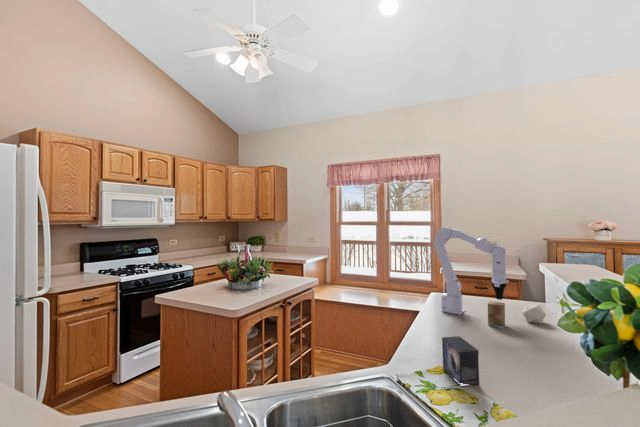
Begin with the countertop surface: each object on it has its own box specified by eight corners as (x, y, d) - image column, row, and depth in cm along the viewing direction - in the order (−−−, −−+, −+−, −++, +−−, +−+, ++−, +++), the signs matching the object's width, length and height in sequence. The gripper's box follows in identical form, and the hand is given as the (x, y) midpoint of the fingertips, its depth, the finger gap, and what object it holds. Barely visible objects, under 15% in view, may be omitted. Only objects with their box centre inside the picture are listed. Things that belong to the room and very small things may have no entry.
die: (543, 321, 138) (528, 302, 143) (554, 318, 130) (538, 298, 135) (528, 328, 137) (514, 309, 142) (538, 325, 129) (523, 305, 134)
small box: (441, 368, 96) (440, 336, 96) (460, 367, 97) (459, 335, 97) (459, 387, 85) (458, 351, 86) (480, 385, 86) (479, 350, 86)
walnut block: (488, 325, 132) (487, 303, 132) (489, 322, 136) (489, 300, 136) (503, 328, 128) (503, 305, 129) (505, 325, 132) (504, 303, 132)
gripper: (506, 274, 133) (507, 304, 132) (510, 269, 144) (510, 297, 144) (489, 272, 137) (489, 301, 137) (493, 267, 148) (494, 294, 148)
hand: (499, 299), depth 141 cm, fingers closed
